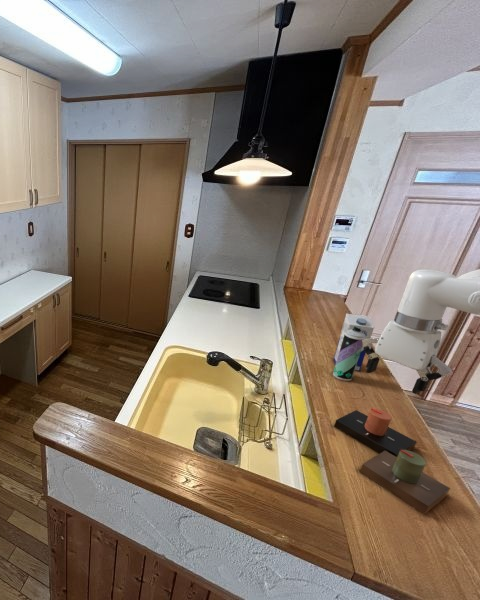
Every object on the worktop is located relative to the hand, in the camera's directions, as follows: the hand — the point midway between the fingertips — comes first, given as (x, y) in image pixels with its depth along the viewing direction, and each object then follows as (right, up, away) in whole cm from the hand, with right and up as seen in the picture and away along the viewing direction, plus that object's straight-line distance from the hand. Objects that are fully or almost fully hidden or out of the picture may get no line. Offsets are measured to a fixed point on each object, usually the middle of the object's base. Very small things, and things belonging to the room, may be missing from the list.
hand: (392, 381), depth 84 cm
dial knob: (0, -15, +5) cm, 16 cm away
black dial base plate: (0, -17, +6) cm, 18 cm away
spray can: (+14, -7, +34) cm, 38 cm away
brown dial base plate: (-5, -22, -7) cm, 24 cm away
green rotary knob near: (-5, -20, -8) cm, 22 cm away
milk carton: (+22, -4, +41) cm, 47 cm away
